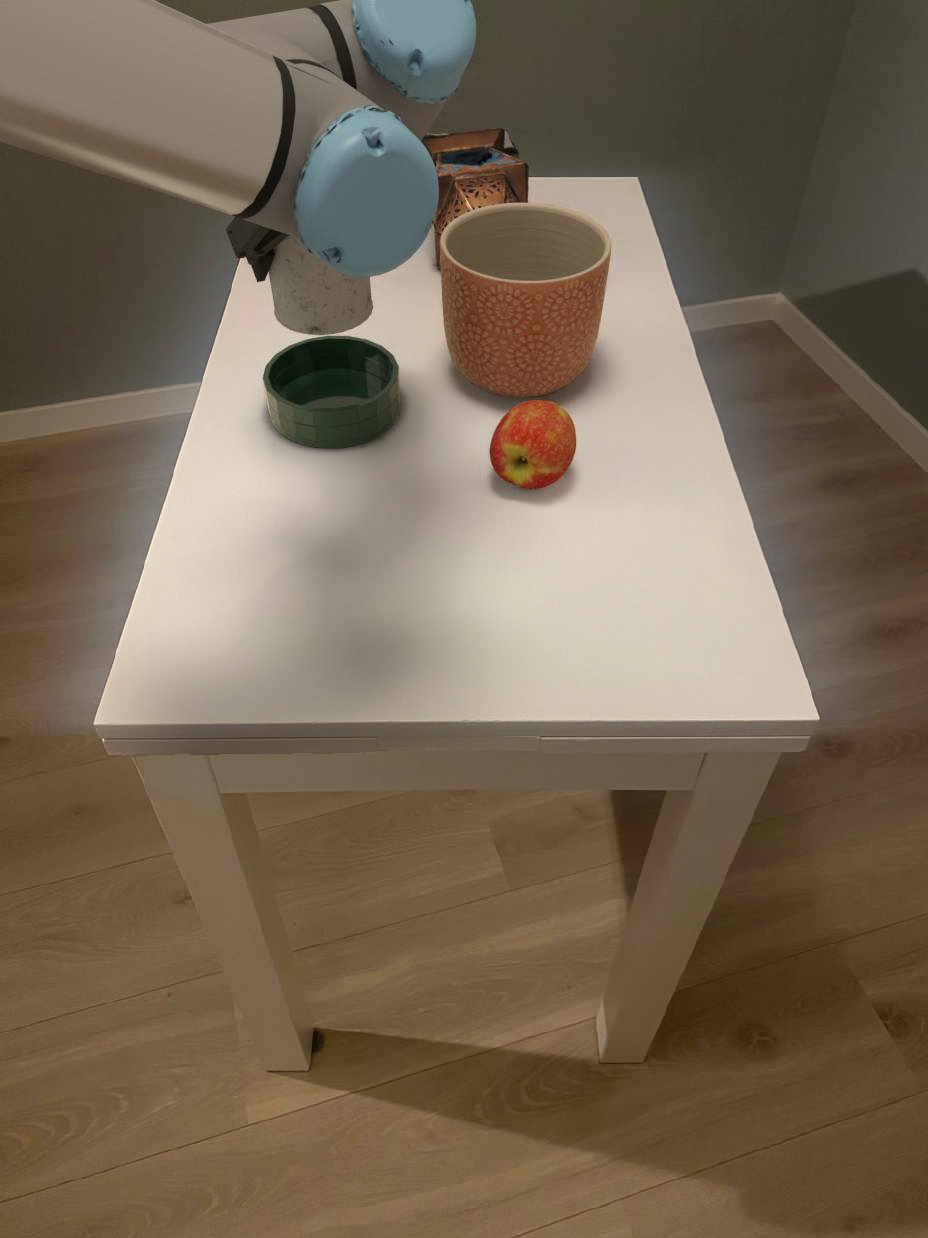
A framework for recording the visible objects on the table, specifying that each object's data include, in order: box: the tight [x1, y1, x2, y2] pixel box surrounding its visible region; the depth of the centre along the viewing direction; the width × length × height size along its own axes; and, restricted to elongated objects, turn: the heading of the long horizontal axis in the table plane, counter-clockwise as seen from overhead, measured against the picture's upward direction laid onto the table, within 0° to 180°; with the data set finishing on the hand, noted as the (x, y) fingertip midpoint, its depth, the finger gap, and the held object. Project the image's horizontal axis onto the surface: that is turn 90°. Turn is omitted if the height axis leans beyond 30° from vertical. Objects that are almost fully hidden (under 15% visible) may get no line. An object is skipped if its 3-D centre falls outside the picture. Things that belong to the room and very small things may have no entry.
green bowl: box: [262, 335, 401, 449], centre depth 98 cm, size 14×14×4 cm
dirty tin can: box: [268, 235, 374, 336], centre depth 86 cm, size 10×10×12 cm
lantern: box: [422, 127, 530, 270], centre depth 118 cm, size 16×16×25 cm
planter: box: [440, 202, 612, 399], centre depth 98 cm, size 17×17×15 cm
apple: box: [489, 399, 577, 490], centre depth 89 cm, size 8×8×8 cm
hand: (306, 254), depth 89 cm, fingers closed on dirty tin can, 9 cm apart
